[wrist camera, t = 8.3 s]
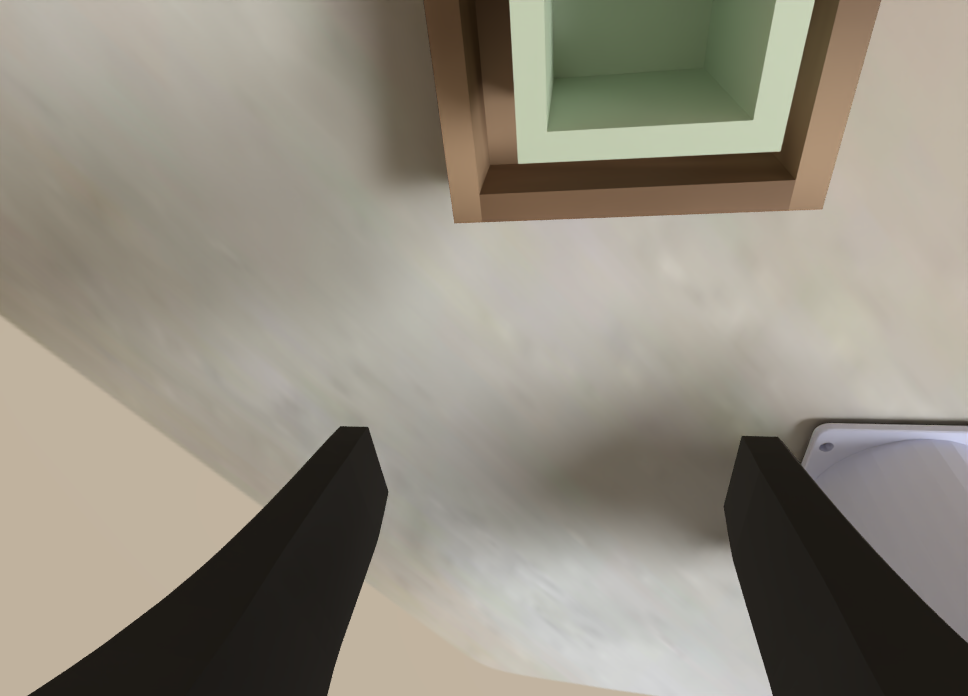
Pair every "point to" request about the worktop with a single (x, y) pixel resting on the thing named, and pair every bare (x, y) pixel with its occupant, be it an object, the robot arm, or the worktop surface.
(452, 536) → the worktop surface
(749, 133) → the small crate
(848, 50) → the big crate
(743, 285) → the worktop surface
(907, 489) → the robot arm
